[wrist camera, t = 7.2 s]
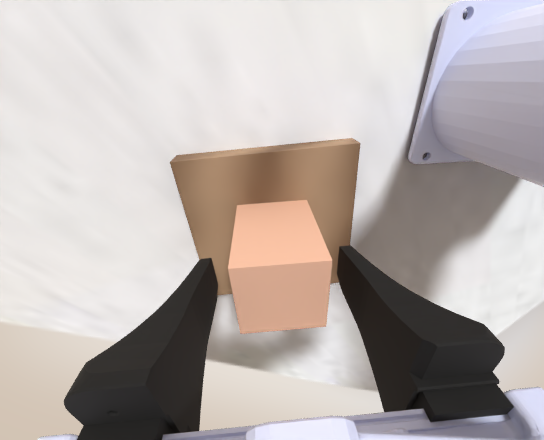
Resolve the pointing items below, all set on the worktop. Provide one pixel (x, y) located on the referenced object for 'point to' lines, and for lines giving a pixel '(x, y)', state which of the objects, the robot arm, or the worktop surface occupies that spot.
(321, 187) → the walnut board
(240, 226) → the terracotta block
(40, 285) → the worktop surface
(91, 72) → the worktop surface
